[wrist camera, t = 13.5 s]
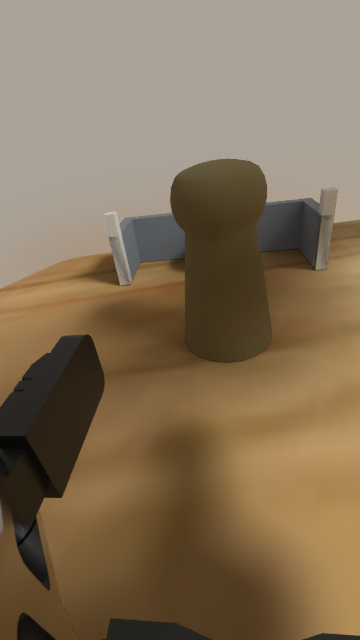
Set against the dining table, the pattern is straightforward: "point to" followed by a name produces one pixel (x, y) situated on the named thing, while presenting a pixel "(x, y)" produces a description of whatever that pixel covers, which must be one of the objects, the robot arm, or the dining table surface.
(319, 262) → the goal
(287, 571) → the dining table surface
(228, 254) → the cork
